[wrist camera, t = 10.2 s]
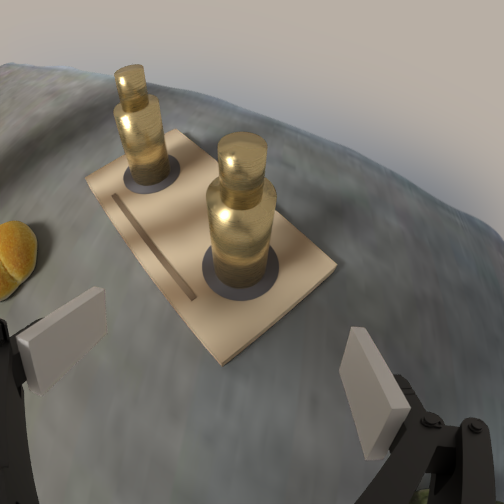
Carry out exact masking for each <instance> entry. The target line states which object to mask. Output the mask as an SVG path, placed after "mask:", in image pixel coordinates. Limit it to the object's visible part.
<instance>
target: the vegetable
mask: <svg viewBox="0 0 504 504" xmlns="http://www.w3.org/2000/svg"><path fill="white" fill-rule="evenodd" d="M428 495H429V489H423V490H419V491H416V492H414V494H413V496H412V498H411V499H410V501H409V503H408V504H427V500H428ZM496 504H504V503H503V502H499V501H496Z"/></svg>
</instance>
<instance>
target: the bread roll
mask: <svg viewBox="0 0 504 504" xmlns="http://www.w3.org/2000/svg"><path fill="white" fill-rule="evenodd" d="M36 256H37V239H36V236H35V234H34V233H33V231H32V230H31V229H30V228H29V227H28V226H27V225H26V224H24V223H22V222H20V221H9V222H6V223H4V224H1V225H0V301H2V300H5V299H6V298H8V297H9V296H10V295H11V294H12V293H13V292H14V291H15V290H16V289H17V288H18V286H19V285H20V284H21V283H23V282H24V281H25V280H26V279H27V278H28V277H29V276H30V275H31V273H32V272H33V270H34V268H35V264H36Z"/></svg>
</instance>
